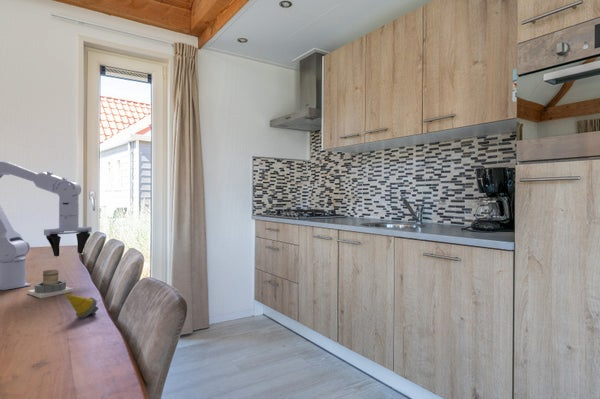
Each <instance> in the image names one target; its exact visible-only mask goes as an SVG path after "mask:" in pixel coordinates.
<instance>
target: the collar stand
mask: <svg viewBox="0 0 600 399" xmlns="http://www.w3.org/2000/svg"><path fill="white" fill-rule="evenodd" d="M73 292H74V288H72V287H69V286H67V281H66V280H59V279H58V284H56V285H48V286H43V281H42V282H37V283H35V284H34V289H29V290H27V295H31V296H34V297H36V298H38V299H44V298H48V297H53V296H59V295H65V294H69V293H73Z"/></svg>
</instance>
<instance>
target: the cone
mask: <svg viewBox="0 0 600 399" xmlns="http://www.w3.org/2000/svg"><path fill="white" fill-rule="evenodd" d="M64 295H65V297H66V299H67V301H69V303H70V305H71V306H72V308H73V309H74V311H75V312H76V313H75V316H76V317H77V318H79V319H85V318H86V317H88V316H89V315H91V314H92V315H97V313H96V312H97V311H98V310H99V307H98V306H97V304H98V300H96V299H95V298H93V297H89V298H88V297H83V296H79V295H74V294H69V293H64ZM92 315H91V316H92Z"/></svg>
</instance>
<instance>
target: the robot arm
mask: <svg viewBox="0 0 600 399" xmlns="http://www.w3.org/2000/svg"><path fill="white" fill-rule="evenodd" d="M9 175H12V176H15V177H16V178H17V177H18V178H21V179H24V180H28V181H30V182H33V184H35V186H36V188H39V189H41V190H44V191H47V192H50V193H53V194H55V195H57V196H58V197H59V200H58V201H59V202H58V211H59V212H58V228H47V229H43V235H44V236H45V238H46V240H47V241H48V244H50V246H51V249H52V253H53V256H54V257H60V243H61V238H62V237H61V236H59V235H70V234H75V235H76V241H77V254H83V253H84V249H85V246H86V243H87V241H88V240H89V238H90V237H91V233H93V232H92V231H93V230H92V229H93V228H92V226H80V227H79V209H80V208H79V206H80V204H79V196H80V195H81V193H82V187H81V185H80V184H79V183H78V182H75V181H74V180H68V178H66V177H60V176H58V175H55V174H54V173H53V172H51V171H47V172H46V171H42V172H35V171H33V170H30V169H28V168H25V167H22V166H20V165H18V164H15V163H13V162H9V161H5V160H1V159H0V179H1V178H2V177H4V176H9ZM30 250H31V245H30V243H29V242H28V241H27V240H25V239H24V238H23V237H22V236H21V234H20V233H19V232H17V231H16V230H15V229H14V228H13V226H12V224H11V222H10V221H9V219H8V217H7V215H6V214H5V212H4V210H3V208H2V206H1V205H0V290H1V291H6V290H7V291H8V290H11V289H12V290H13V289H17V288H24V287H29V286H31V285H32V284H31V283H29V282H27V256H26V255H28V253H29V252H30Z"/></svg>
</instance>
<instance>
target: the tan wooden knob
mask: <svg viewBox="0 0 600 399" xmlns="http://www.w3.org/2000/svg"><path fill="white" fill-rule="evenodd" d="M58 280H59V269H46V270H45V269H44V270H43V272H42V282H43V286H48V285H56V284H58Z"/></svg>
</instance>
